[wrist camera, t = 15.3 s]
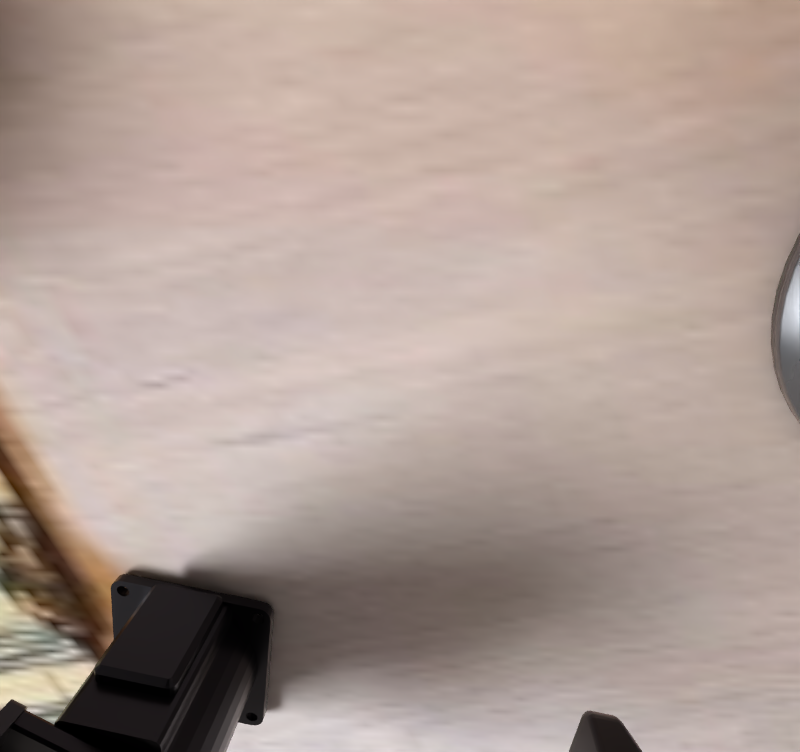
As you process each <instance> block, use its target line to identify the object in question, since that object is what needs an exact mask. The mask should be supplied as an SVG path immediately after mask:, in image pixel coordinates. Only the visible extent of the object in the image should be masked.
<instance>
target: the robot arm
mask: <svg viewBox="0 0 800 752" xmlns="http://www.w3.org/2000/svg"><path fill="white" fill-rule="evenodd" d="M125 587H126V588H125ZM111 599H112V616H113V633H114V640H113V642H112V643H111V645H110V646H109V647H108V649H107V650H106V651H105V653H104V654H103V656H102V657H101V658H100V660H99V661H98V662H97V664H96V665H95V668H94V669H93V671H92V672H91V674H90V675H89V676H88V678H87V679H86V680H85V682H84V683H83V685H82V686H81V687H80V689H79V690H78V692H77V693H76V694H75V696H74V697H73V698H72V700H71V701H70V703H69V704H68V705H67V707H66V708H65V709H64V711H63V712H62V714H61V715H60V716H59V718H58V719H57V721H56V722H55V724H52V723H50V722H48V721H46V720H44V719H42V718H40V717H38V716H36V715H34V714H32V713H30V712H28V711H26V709H27V707H26V706H24V705H22V704H20V703H18V702H16V701H14V700H13V699H11V700H10V701H9V702H8V703H7V704H6V706H5V707H4V708H3V709H2V710H1V711H0V752H226V750H227V748H228V745H229V743H230V740H231V738H232V736H233V733H234V731H235V728H236V726H237V723H238V722H240V723H244V724H249V725H259V724H260V723H262V721H263V718H264V716H265V713H266V708H267V695H268V682H269V669H270V656H271V644H272V631H273V618H274V612H273V609H272V607H271V606H270V605H269V604H267V603H265V602H262V601H258V600H253V599H248V598H243V597H238V596H233V595H228V594H223V593H218V592H213V591H208V590H203V589H198V588H193V587H188V586H183V585H178V584H173V583H168V582H163V581H158V580H153V579H148V578H143V577H138V576H133V575H128V574H123V575H120V576H119V577H118V578H117V579H116V581H115V582H114V583H113V584H112V586H111ZM258 614H261V615H262V616H260V615H258ZM569 752H642V750H641V749H640V748H639V746H638V745H637V743H636V742H635V740H634V739H633V737H632V736H631V735H630V733H629V732H628V730H627V729H626V727H625V726H624V724H623V723H622V722H621V721H620V720H619V719H618V718H617V717H615V716H613V715H609V714H604V713H599V712H594V711H587V712H585V713H584V714H583V716H582V718H581V720H580V723H579V726H578V728H577V731H576V734H575V736H574V739H573V742H572V744H571V747H570V750H569Z"/></svg>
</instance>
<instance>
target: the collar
mask: <svg viewBox="0 0 800 752" xmlns="http://www.w3.org/2000/svg"><path fill="white" fill-rule="evenodd" d="M771 347H772V355H773V363H774V369H775V372H776V376H777V379H778V383H779V386H780V390H781V392H782V394H783V396H784V398H785V400H786V402H787V404H788V406H789V408H790V410H791V412H792V413H793V414H794V416H795V417H796V419H797V420H798V421H799V423H800V234H799V236H798V238H797V240H796V242H795V244H794V247H793V249H792V251H791V253H790V255H789V257H788V259H787V262H786V264H785V267H784V270H783V273H782V276H781V279H780V282H779V285H778V289H777V292H776V298H775V303H774V309H773V314H772V330H771Z"/></svg>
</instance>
